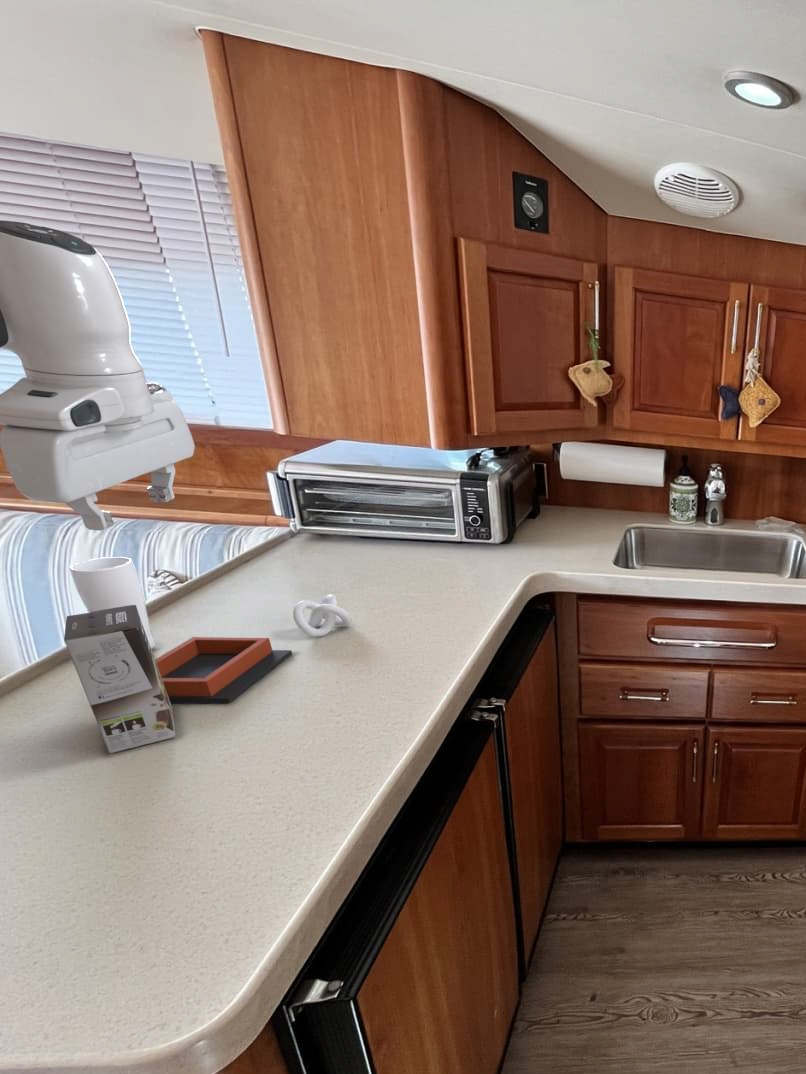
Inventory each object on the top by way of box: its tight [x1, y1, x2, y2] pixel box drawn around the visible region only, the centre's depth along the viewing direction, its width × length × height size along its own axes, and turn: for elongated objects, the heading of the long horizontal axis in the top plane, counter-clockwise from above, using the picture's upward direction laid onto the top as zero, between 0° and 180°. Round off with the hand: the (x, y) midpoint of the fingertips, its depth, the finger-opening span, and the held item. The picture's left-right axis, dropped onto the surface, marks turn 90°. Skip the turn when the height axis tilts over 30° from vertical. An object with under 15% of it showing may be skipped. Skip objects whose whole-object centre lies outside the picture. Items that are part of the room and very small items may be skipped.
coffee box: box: [63, 605, 176, 754], centre depth 81 cm, size 9×6×16 cm
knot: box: [292, 593, 353, 638], centre depth 113 cm, size 8×8×6 cm
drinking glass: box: [69, 556, 156, 650], centre depth 99 cm, size 7×7×15 cm
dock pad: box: [155, 636, 293, 704], centre depth 96 cm, size 16×15×3 cm
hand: (133, 513), depth 76 cm, fingers open, 8 cm apart
